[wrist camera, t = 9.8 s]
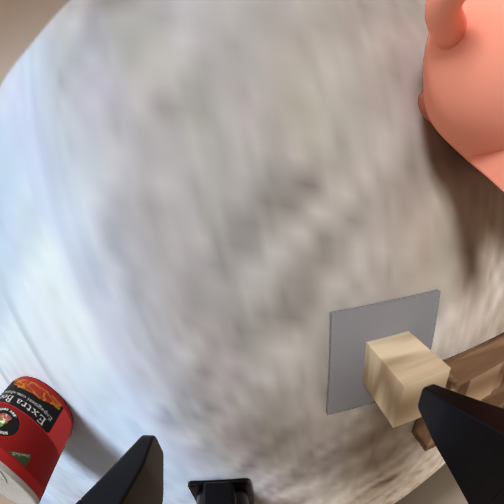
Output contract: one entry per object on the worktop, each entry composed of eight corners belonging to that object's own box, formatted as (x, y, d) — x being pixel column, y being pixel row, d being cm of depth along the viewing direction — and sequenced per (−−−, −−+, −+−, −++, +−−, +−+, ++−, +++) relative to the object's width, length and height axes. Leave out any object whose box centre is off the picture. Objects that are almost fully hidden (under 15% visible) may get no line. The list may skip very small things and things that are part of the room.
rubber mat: (420, 383, 23) (422, 385, 23) (326, 412, 23) (327, 414, 22) (437, 289, 21) (440, 291, 21) (329, 312, 20) (331, 314, 20)
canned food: (70, 390, 20) (19, 478, 9) (80, 442, 22) (48, 520, 11) (7, 361, 19) (-53, 427, 8) (22, 416, 21) (-19, 481, 10)
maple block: (402, 369, 22) (437, 409, 16) (362, 381, 22) (393, 428, 16) (408, 331, 21) (450, 367, 15) (366, 342, 21) (404, 386, 15)
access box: (498, 386, 26) (512, 399, 23) (411, 432, 25) (425, 451, 22) (518, 324, 24) (536, 334, 21) (432, 364, 23) (451, 383, 19)
